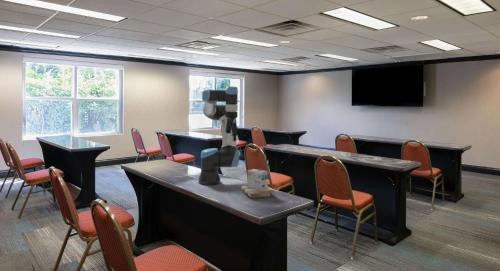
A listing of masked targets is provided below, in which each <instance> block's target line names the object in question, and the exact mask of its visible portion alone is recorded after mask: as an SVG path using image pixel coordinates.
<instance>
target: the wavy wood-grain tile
mask: <svg viewBox="0 0 500 271" xmlns="http://www.w3.org/2000/svg"><path fill="white" fill-rule="evenodd" d="M240 188H241V190H243V191H244V193H245V194H246V195H247V196H248V197H249V198H250V199H253V198H255V199H257V198H267V197H271V193H275V189H273V188H272V187H270V186H268V185H267V188H266V189H263V190H258V189H253V188H247V185H240Z"/></svg>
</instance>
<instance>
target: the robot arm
mask: <svg viewBox="0 0 500 271" xmlns="http://www.w3.org/2000/svg"><path fill="white" fill-rule="evenodd" d="M238 90H239V89H238V87H237V86H226V87H225V89H202V92H201V98H202V99H201V100H202V102H204V105H203V108H202V112H203V114H204V116H205V117H206V118H207V119H210V120H213V121H219V123H220V124H221V140H222V147H221V148H220V150H219V149H218V147H217V148H216V147H213V148H207V149H203V150H202V151H201V152H200V174H199V177H198V182H197V183H198V184H200V185H206V186H211V185H218V184H220V183H221V177H220V173H219V168H237V167H238V166H239V160H240V153H241V152H240V150H238V148H237V139H238V138H237V136H238V135H239V133H238V125H237V119H238V109H239V108H238V105H239V104H238V100H239V99H238V96H239V95H238V93H239V91H238ZM217 102H218V103H219V102H222V103H223V102H224V103H225V104H224V105H223V104H216V103H217Z"/></svg>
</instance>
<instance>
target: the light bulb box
mask: <svg viewBox="0 0 500 271" xmlns="http://www.w3.org/2000/svg"><path fill="white" fill-rule="evenodd" d="M267 186H268V170H263V169H255V168H252V169H248V170H247V188H253V189H258V190H263V189H266V188H267Z"/></svg>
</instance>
